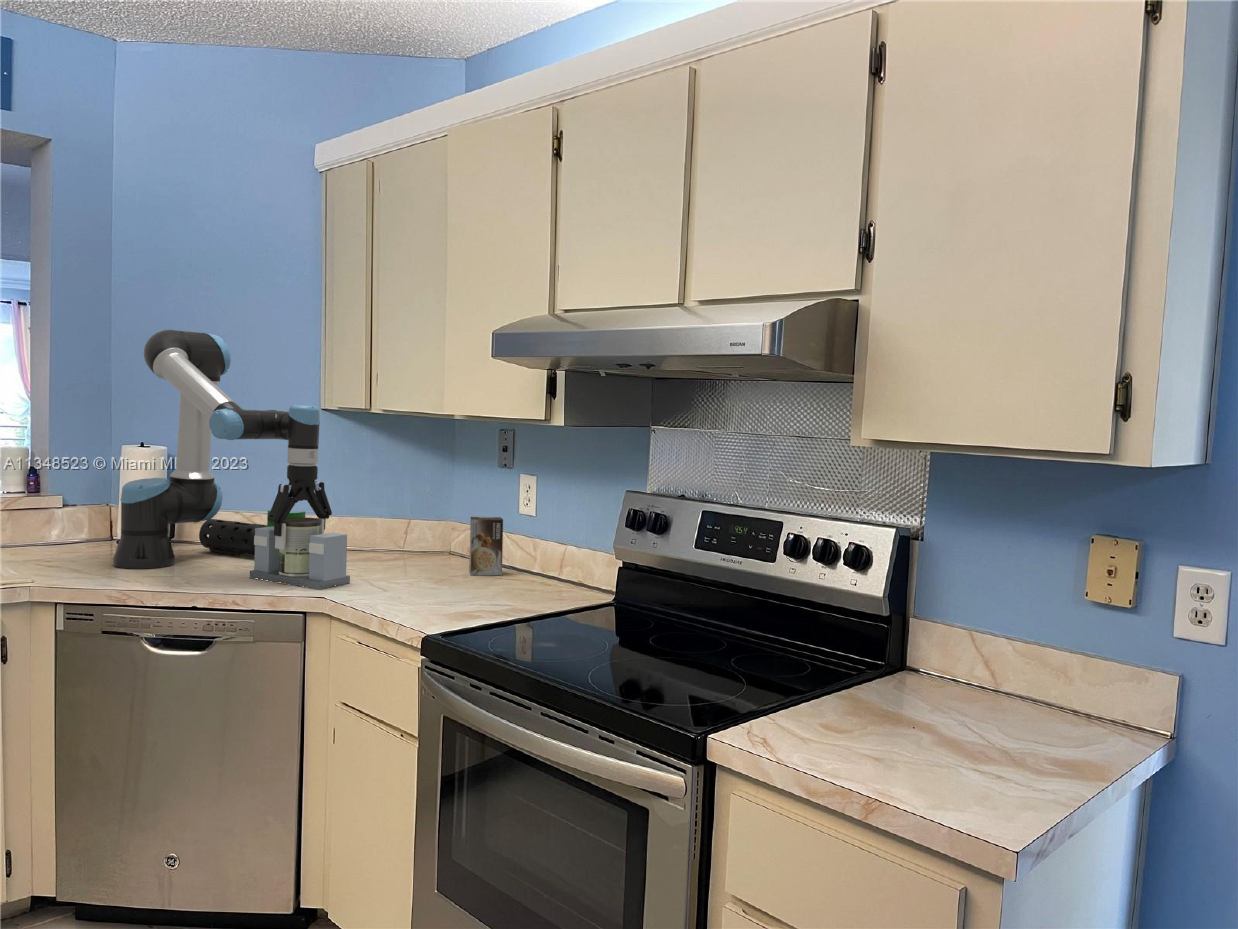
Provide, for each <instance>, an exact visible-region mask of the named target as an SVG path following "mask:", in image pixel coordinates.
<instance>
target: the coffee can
mask: <svg viewBox="0 0 1238 929" xmlns="http://www.w3.org/2000/svg"><path fill="white" fill-rule="evenodd" d="M317 518H318V517H305V518H304V517H295V518H286V519H285V520H284V522H283V523H284V524H286V536H285V549H279V574H280V575H282V576H289V577H306V576H309V557H310V553H309V543H310V536H312V535H319V534H320V529H321V520H320V519H317Z"/></svg>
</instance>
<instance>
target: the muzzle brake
mask: <svg viewBox="0 0 1238 929" xmlns="http://www.w3.org/2000/svg"><path fill="white" fill-rule="evenodd" d="M263 527H267V524H260V523H248V522H241V521H237V520H235V521H234V520H223V519H216V518H212V519H210V520H206V521H203V524H202V525H201V527H200V529H199V534H198V537H199V541H200V545H202V547H204V548H205V549H209V552H211V551H214V552H213V553H219V552H221V553H220V554H226V553H227V554H229V555H238V556H244V555H248V556H249V555H250V556H255V545H254V536H255V528H263Z"/></svg>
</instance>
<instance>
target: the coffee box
mask: <svg viewBox="0 0 1238 929" xmlns="http://www.w3.org/2000/svg"><path fill="white" fill-rule="evenodd" d="M469 526H470V528H469V532H470V533H469V565H468V567H469V568H468V573H469V575H470V576H503V553H504V551H503V550H504V548H503V547H504V546H503V543H504V519H503V518H502V517H501V516H497V517H495V516H470V525H469Z"/></svg>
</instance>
